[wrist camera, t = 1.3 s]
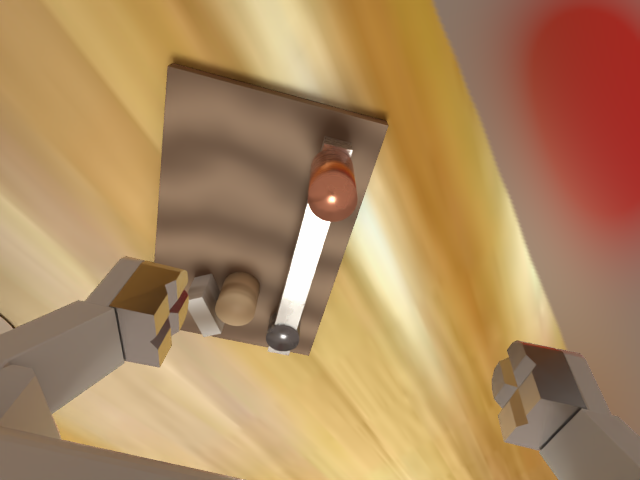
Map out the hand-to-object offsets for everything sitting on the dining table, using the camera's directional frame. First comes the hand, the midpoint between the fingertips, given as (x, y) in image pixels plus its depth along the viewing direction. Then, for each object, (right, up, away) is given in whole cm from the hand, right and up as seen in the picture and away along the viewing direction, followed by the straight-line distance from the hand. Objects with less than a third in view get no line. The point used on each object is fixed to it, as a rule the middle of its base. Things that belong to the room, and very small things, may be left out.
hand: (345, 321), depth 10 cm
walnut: (-9, -3, +35) cm, 37 cm away
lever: (-2, +1, +32) cm, 32 cm away
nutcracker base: (-8, +3, +33) cm, 34 cm away
